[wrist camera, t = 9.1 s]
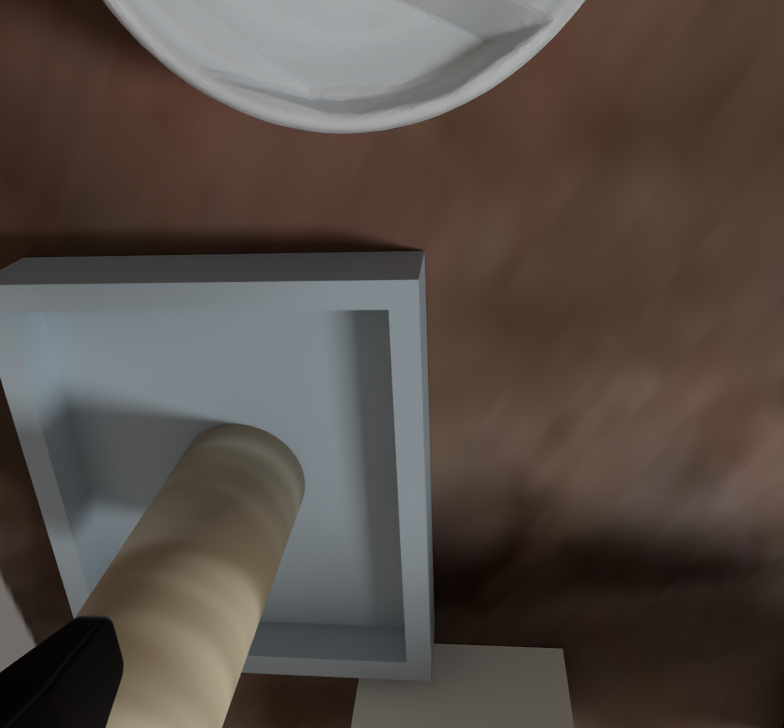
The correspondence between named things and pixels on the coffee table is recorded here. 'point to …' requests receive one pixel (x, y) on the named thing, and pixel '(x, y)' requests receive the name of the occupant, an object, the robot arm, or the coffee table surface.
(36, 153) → the coffee table surface
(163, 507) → the beech dowel
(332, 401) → the slate tray
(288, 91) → the ramekin
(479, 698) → the white open box
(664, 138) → the coffee table surface
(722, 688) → the coffee table surface
